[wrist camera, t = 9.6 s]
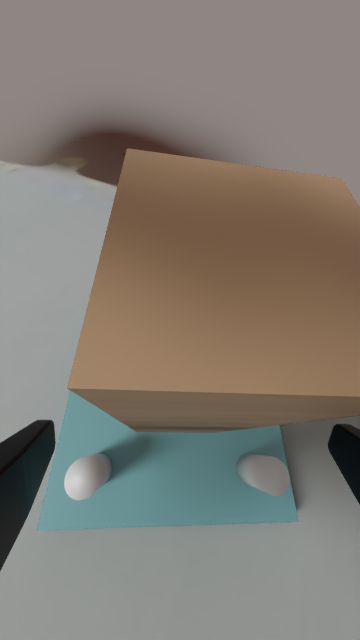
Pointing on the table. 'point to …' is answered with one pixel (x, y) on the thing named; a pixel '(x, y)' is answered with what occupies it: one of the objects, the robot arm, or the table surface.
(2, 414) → the table surface
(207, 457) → the peg plate
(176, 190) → the walnut pillar
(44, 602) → the table surface
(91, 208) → the table surface
